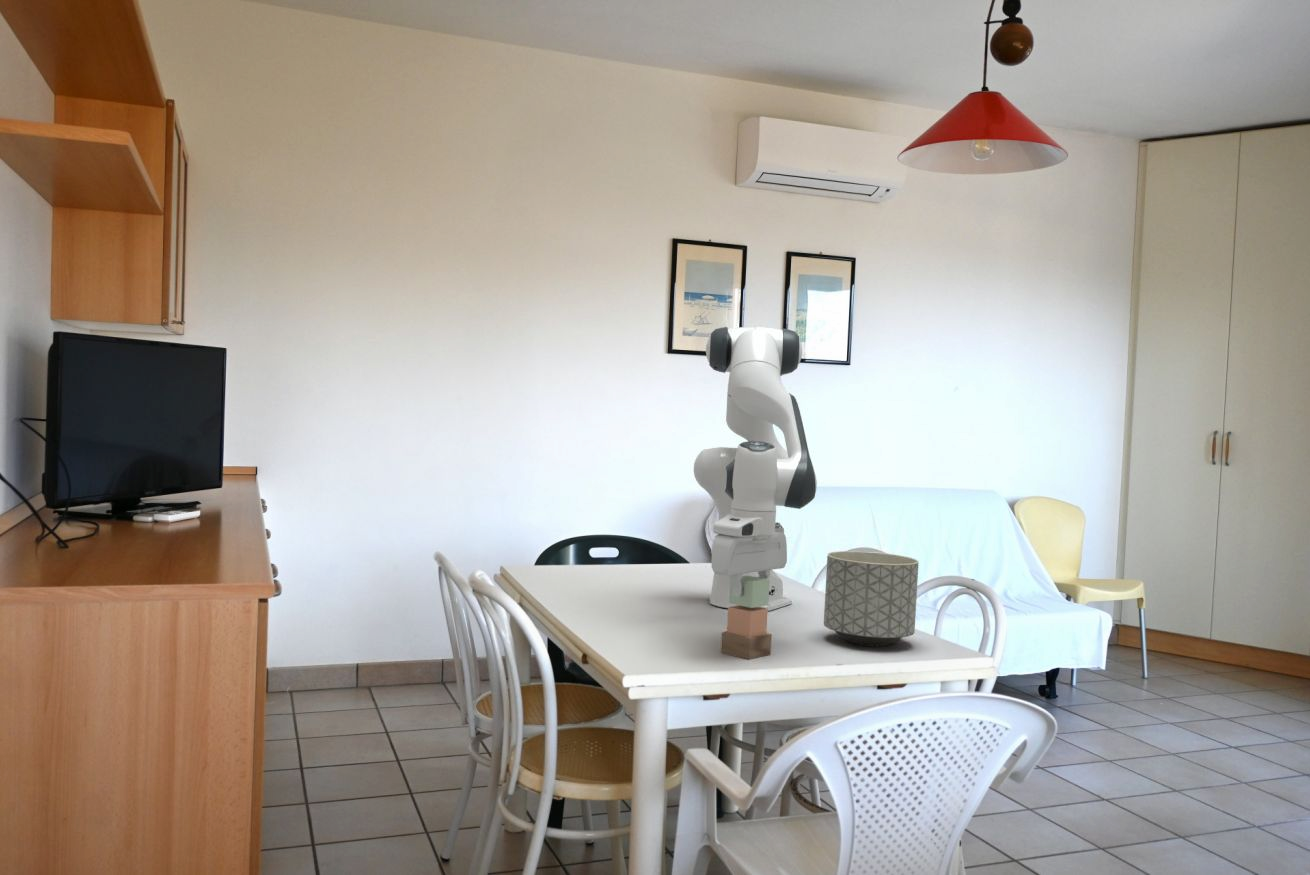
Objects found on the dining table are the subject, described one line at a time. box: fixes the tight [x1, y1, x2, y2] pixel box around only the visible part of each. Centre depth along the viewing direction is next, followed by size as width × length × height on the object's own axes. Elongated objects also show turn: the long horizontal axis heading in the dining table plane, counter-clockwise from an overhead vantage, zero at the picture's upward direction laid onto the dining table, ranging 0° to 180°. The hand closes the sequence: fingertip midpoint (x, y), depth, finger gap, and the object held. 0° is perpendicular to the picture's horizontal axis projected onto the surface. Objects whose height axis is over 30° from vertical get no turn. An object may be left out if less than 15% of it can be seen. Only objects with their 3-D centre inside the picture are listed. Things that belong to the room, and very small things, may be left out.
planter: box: [823, 550, 920, 647], centre depth 213 cm, size 19×19×18 cm
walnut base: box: [720, 630, 773, 660], centre depth 196 cm, size 7×7×4 cm
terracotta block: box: [726, 605, 769, 637], centre depth 196 cm, size 6×6×5 cm
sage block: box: [729, 576, 770, 608], centre depth 196 cm, size 6×6×5 cm
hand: (748, 594), depth 196 cm, fingers closed on sage block, 5 cm apart
